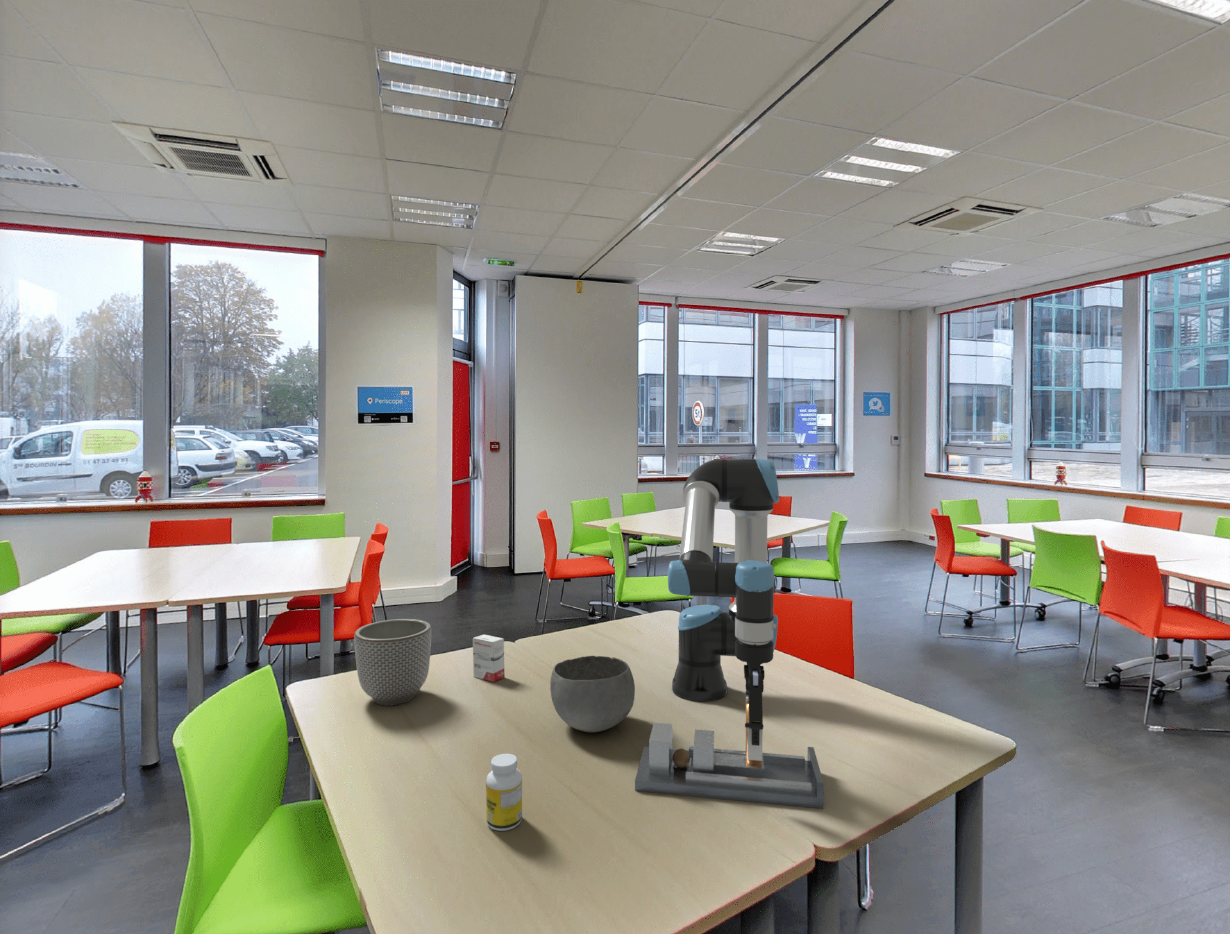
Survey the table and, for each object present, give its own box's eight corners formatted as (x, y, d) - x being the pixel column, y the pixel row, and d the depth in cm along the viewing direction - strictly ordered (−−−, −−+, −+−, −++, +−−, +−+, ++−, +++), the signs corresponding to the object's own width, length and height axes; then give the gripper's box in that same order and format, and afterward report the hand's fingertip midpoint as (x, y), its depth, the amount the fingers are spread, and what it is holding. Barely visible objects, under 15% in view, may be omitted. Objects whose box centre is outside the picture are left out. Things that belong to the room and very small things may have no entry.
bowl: (647, 717, 158) (647, 658, 157) (613, 753, 139) (613, 687, 138) (576, 702, 166) (575, 647, 166) (534, 735, 148) (534, 673, 147)
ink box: (505, 677, 184) (505, 638, 184) (494, 682, 180) (493, 642, 180) (484, 671, 189) (483, 633, 188) (472, 676, 185) (472, 637, 184)
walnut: (668, 766, 130) (668, 749, 130) (681, 760, 132) (681, 743, 132) (681, 773, 127) (681, 755, 127) (693, 767, 129) (693, 750, 129)
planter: (338, 706, 164) (337, 634, 163) (391, 680, 182) (390, 615, 182) (398, 718, 157) (396, 643, 156) (447, 690, 175) (446, 622, 174)
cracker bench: (634, 790, 124) (634, 746, 124) (644, 755, 138) (644, 715, 138) (823, 808, 118) (823, 762, 118) (813, 770, 132) (813, 728, 131)
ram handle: (693, 775, 125) (693, 707, 125) (695, 757, 133) (695, 692, 132) (764, 782, 123) (765, 712, 122) (762, 763, 130) (763, 697, 130)
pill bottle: (488, 812, 117) (488, 751, 117) (523, 810, 118) (523, 750, 117) (484, 834, 111) (483, 769, 110) (521, 831, 111) (520, 768, 111)
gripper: (778, 661, 113) (777, 776, 114) (769, 622, 137) (768, 717, 138) (736, 659, 114) (735, 772, 115) (734, 620, 139) (734, 714, 140)
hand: (753, 742), depth 127 cm, fingers open, 13 cm apart
